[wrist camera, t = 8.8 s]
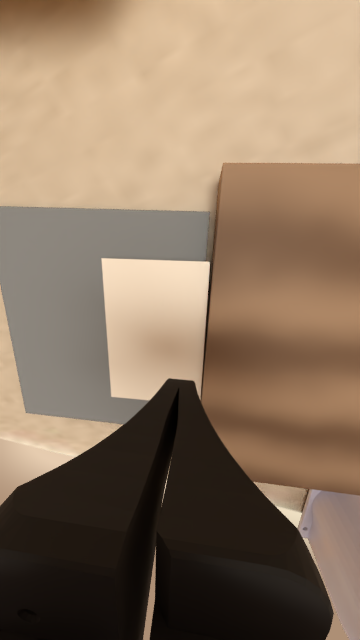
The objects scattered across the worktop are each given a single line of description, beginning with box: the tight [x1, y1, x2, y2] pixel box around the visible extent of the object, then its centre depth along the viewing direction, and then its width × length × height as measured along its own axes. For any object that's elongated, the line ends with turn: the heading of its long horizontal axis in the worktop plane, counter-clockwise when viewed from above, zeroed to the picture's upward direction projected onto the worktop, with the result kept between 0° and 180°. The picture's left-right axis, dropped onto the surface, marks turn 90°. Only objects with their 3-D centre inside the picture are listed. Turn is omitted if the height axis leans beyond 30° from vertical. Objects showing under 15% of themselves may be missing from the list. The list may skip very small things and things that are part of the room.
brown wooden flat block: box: [200, 163, 360, 496], centre depth 16 cm, size 24×14×3 cm, turn 177°
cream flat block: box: [101, 258, 210, 400], centre depth 17 cm, size 12×8×2 cm, turn 178°
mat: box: [0, 206, 210, 424], centre depth 18 cm, size 20×18×1 cm
